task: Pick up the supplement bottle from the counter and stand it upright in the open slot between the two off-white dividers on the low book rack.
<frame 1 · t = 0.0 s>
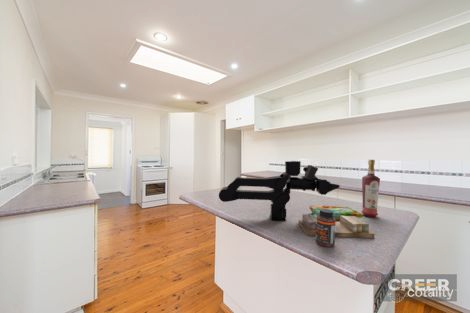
hand: (334, 184, 90), 17 cm above the countertop, tool horizontal, fingers open, 9 cm apart
puzzle game: (334, 218, 95), on the countertop
supplement bottle: (325, 243, 67), on the countertop
liquor: (369, 216, 98), on the countertop
book rack: (333, 230, 79), on the countertop
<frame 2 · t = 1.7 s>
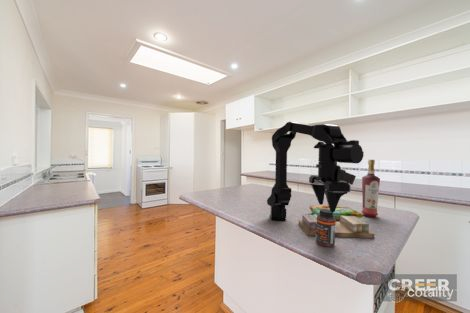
hand: (326, 207, 67), 12 cm above the countertop, tool pointing down, fingers open, 9 cm apart
nothing on the countertop moved.
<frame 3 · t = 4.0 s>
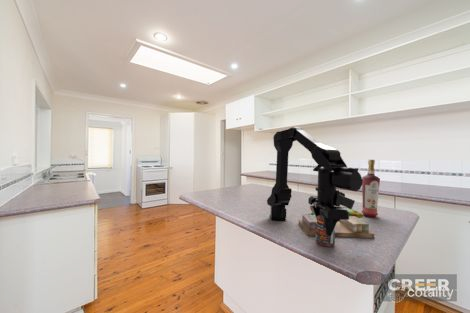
hand: (325, 231, 67), 4 cm above the countertop, tool pointing down, fingers closed on supplement bottle, 6 cm apart
supplement bottle: (325, 243, 67), on the countertop, touching gripper
everything else where it was.
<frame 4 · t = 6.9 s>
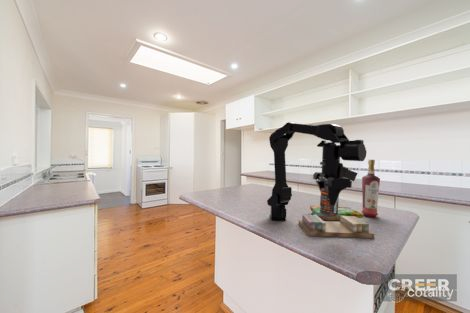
hand: (329, 202, 71), 13 cm above the countertop, tool pointing down, fingers closed on supplement bottle, 6 cm apart
supplement bottle: (328, 214, 71), point 8 cm above the countertop, touching gripper
everything else where it was.
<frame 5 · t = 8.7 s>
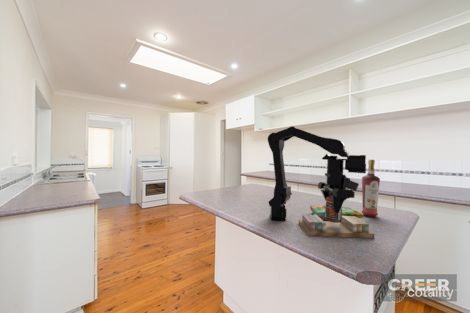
hand: (333, 210, 78), 8 cm above the countertop, tool pointing down, fingers closed on supplement bottle, 6 cm apart
supplement bottle: (333, 221, 79), point 4 cm above the countertop, touching gripper
everything else where it was.
when the fingers open (6 cm above the countertop, at t = 10.0 s): supplement bottle stays where it is, resting on book rack.
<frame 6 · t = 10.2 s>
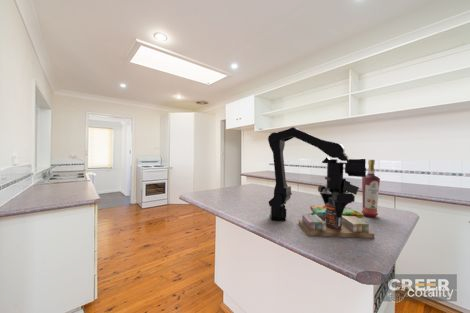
hand: (333, 214, 78), 6 cm above the countertop, tool pointing down, fingers open, 8 cm apart
supplement bottle: (333, 227, 78), point 1 cm above the countertop, touching book rack
everything else where it was.
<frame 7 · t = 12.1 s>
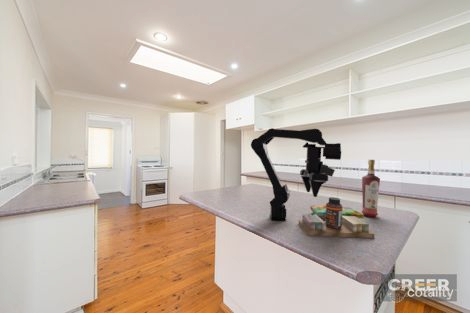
hand: (311, 194, 86), 13 cm above the countertop, tool pointing down, fingers open, 9 cm apart
nothing on the countertop moved.
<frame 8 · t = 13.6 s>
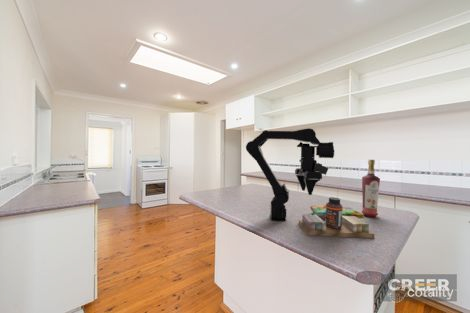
hand: (306, 192, 88), 13 cm above the countertop, tool pointing down, fingers open, 9 cm apart
nothing on the countertop moved.
at the end: supplement bottle 0.1 cm off-centre on the book rack, point 1.3 cm above the book rack's base; supplement bottle tilted 0°; the gripper is holding nothing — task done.
